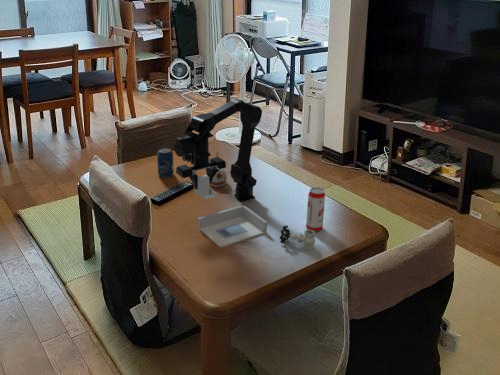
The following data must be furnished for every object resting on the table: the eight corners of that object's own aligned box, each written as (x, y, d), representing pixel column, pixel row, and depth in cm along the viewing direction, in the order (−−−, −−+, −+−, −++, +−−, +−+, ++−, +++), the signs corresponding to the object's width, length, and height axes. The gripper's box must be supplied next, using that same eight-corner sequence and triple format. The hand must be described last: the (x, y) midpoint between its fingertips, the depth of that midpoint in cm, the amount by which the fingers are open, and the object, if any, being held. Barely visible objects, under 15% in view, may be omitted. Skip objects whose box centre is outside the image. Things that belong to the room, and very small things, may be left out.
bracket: (194, 191, 222) (194, 177, 219) (206, 188, 224) (206, 174, 221) (205, 199, 216) (204, 185, 213) (216, 196, 218) (216, 182, 215)
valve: (317, 244, 207) (285, 237, 211) (318, 229, 204) (286, 221, 208) (311, 253, 201) (279, 246, 206) (312, 237, 199) (280, 230, 203)
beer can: (324, 226, 219) (327, 188, 212) (320, 234, 214) (323, 195, 207) (308, 223, 221) (310, 185, 214) (304, 231, 215) (306, 192, 208)
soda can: (156, 177, 256) (154, 152, 251) (160, 171, 262) (159, 146, 257) (171, 178, 255) (170, 153, 250) (175, 172, 261) (174, 147, 256)
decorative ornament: (206, 186, 249) (205, 154, 242) (211, 179, 255) (211, 147, 249) (223, 188, 247) (223, 156, 241) (228, 181, 254) (228, 149, 247)
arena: (243, 215, 226) (243, 204, 224) (266, 232, 214) (267, 221, 212) (198, 228, 216) (198, 217, 214) (220, 247, 204) (220, 236, 202)
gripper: (211, 138, 225) (212, 174, 232) (168, 147, 216) (170, 185, 223) (226, 147, 217) (226, 184, 224) (182, 157, 208) (184, 196, 214)
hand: (201, 187), depth 221 cm, fingers closed on bracket, 5 cm apart
